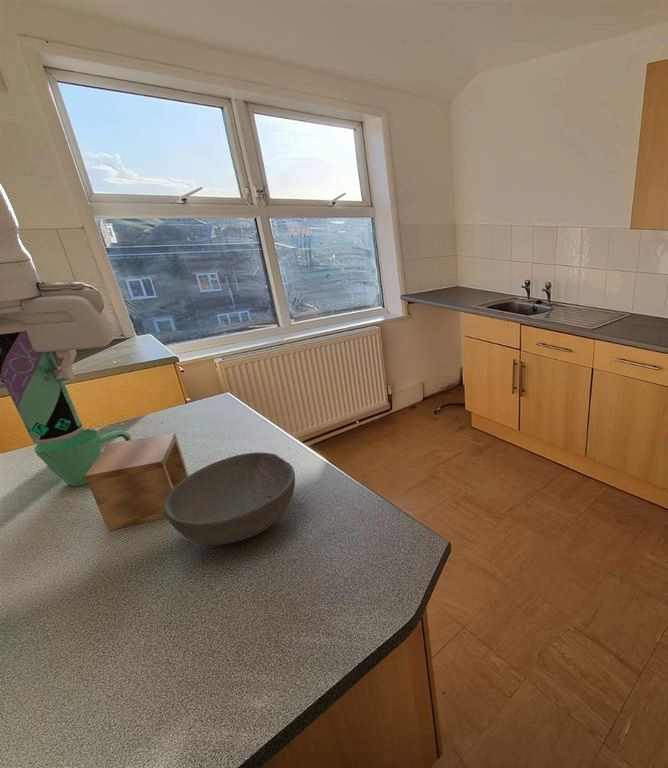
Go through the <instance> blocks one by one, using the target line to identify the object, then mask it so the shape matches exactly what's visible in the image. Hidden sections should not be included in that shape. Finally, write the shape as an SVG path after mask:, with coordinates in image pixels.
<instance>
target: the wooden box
mask: <svg viewBox="0 0 668 768" xmlns="http://www.w3.org/2000/svg"><path fill="white" fill-rule="evenodd" d="M188 476H189V472H188V469H187V466H186V463H185V459H184V455H183V453H182V449H181V447H180V445H179V441H178V438H177V434H176V432H171V433H165V434H160V435H154V436H153V435H152V436H148V437H142V438H135V439H131V440H129V441H125V440H123V441H118V442H112V443H111V442H110V443H107V444H106V445H105V447H104V448H103V449H102V450H101V454H100V455H99V456H98V458H97V459H96V461H95V462H94V463H93V465H92V466H91V468H90V469H89V470H88V472H87V473H86V475H85V478H86V480H87V482H88V484H87V485H88V487H89V489H90V491H91V494H92V496H93V499H94V501H95V503H96V505H97V507H98V510H99V512H100V515H101V517H102V519H103V522H104V524H105V525H106V528H107V531H113V530H118V529H122V528H126V527H130V526H131V527H132V526H135V525H140V524H143V523H147V522H152V521H156V520H161V519H164V518H167V517H166V515H165V512H164V502H165V500H166V498H167V496H168V494H169V493H170V492H171V491H172V489H173V488H174V487H175V486H176V485H177V484H179V483H180V482H181V481H182V480H184V479H185V478H187V477H188Z"/></svg>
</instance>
